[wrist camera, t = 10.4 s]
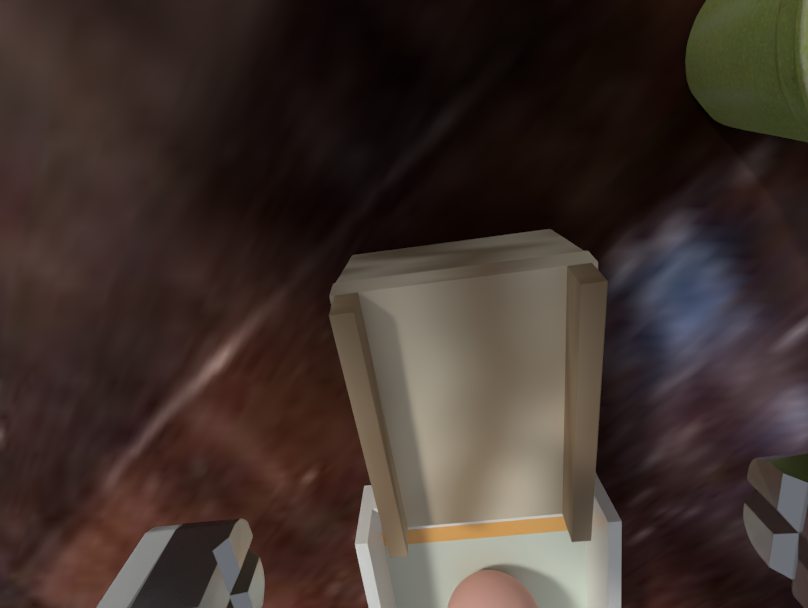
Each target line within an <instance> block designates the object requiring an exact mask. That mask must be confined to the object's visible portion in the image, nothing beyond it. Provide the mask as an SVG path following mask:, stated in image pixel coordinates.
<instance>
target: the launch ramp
mask: <svg viewBox="0 0 808 608" xmlns="http://www.w3.org/2000/svg"><path fill="white" fill-rule="evenodd" d="M607 288H608V281H607V279H606V278H605V277H604V276H603V275H602V274H601V273H600V271H599V270H598V261H597V260H596V259H595V258H594V257H593V256H592V255H591V253H590V252H589V251H584V250H582V249H580V248H579V247H577V246H576V245H574V244H573V243H571V242H570V241H568V240H567V239H565V238H563V237H562V236H560V235H559V234H557V233H556V232H554V231H553V230H551V229H545V230H538V231H530V232H523V233H515V234H508V235H500V236H493V237H485V238H477V239H470V240H462V241H455V242H447V243H440V244H432V245H425V246H417V247H409V248H402V249H394V250H387V251H379V252H372V253H364V254H357V255H352V256H351V258H350V260H349V261H348V263H347V265H346V266H345V268H344V270H343V271H342V273H341V275H340V276H339V278H338V280H337V281H336V283H333V285H332V288H331V292H330V295H329V298H330V302H331V310H330V313H329V318H330V322H331V326H332V330H333V334H334V338H335V342H336V346H337V350H338V354H339V358H340V362H341V366H342V370H343V374H344V378H345V382H346V386H347V390H348V394H349V398H350V402H351V406H352V410H353V414H354V418H355V422H356V426H357V430H358V434H359V438H360V442H361V446H362V450H363V454H364V458H365V462H366V466H367V470H368V474H369V478H370V482H371V486H372V490H373V494H374V498H375V502H376V506H377V510H378V514H379V517H380V521H381V525H382V529H383V533H384V537H385V541H386V545H387V549H388V553H389V557H402V556H408V527H417V526H429V525H440V524H451V523H463V522H474V521H485V520H497V519H508V518H519V517H531V516H542V515H553V514H563V517H564V520H565V523H566V526H567V529H568V532H569V535H570V538H571V541H572V542H581V541H591V535H592V519H593V504H594V488H595V473H596V458H597V442H598V427H599V411H600V396H601V380H602V365H603V350H604V334H605V319H606V303H607Z"/></svg>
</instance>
